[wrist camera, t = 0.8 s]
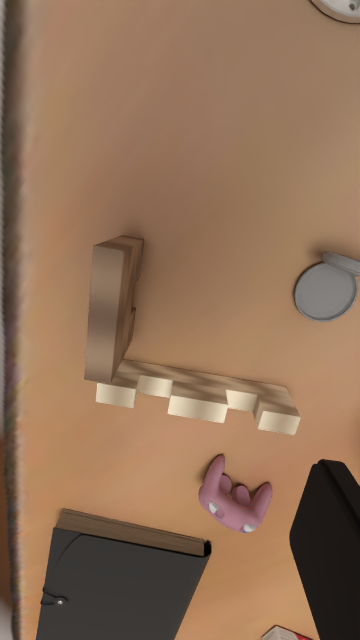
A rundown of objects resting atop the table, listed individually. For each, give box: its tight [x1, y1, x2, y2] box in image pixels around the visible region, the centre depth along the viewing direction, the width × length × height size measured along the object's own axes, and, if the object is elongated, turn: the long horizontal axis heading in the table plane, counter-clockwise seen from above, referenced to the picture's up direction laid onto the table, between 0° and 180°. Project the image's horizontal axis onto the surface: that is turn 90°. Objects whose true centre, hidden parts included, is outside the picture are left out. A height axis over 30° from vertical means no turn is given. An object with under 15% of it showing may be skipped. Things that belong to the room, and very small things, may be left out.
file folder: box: [36, 509, 211, 640], centre depth 52 cm, size 33×4×24 cm
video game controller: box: [198, 455, 272, 533], centre depth 42 cm, size 10×5×7 cm, turn 55°
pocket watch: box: [294, 252, 360, 322], centre depth 29 cm, size 8×8×10 cm
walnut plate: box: [84, 236, 144, 384], centre depth 30 cm, size 12×2×10 cm, turn 171°
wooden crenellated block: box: [96, 359, 301, 435], centre depth 36 cm, size 22×2×6 cm, turn 81°
